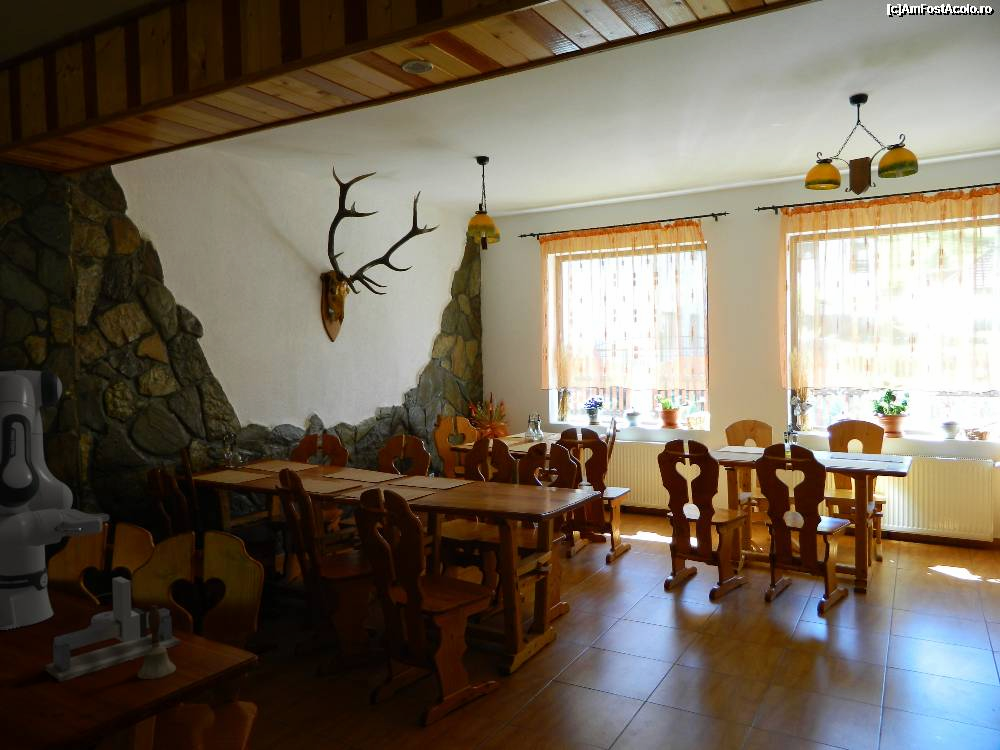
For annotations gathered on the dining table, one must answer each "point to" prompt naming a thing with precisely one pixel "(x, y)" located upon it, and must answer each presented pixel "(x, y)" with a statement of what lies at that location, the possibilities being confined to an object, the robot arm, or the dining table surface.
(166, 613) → the grey clamp fixture
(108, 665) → the base board
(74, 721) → the dining table surface
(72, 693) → the dining table surface
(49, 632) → the dining table surface
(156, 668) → the hand bell
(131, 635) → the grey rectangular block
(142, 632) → the dark grey rubber pad
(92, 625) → the mechanical component
